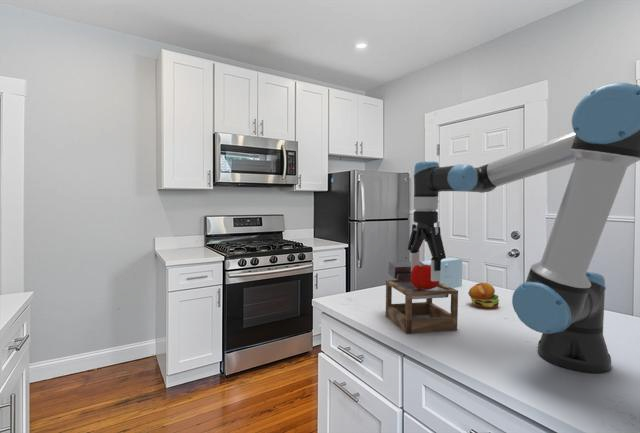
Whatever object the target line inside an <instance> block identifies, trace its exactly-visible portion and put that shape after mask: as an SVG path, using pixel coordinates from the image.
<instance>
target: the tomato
mask: <svg viewBox="0 0 640 433" xmlns="http://www.w3.org/2000/svg"><path fill="white" fill-rule="evenodd" d="M411 282H412V285H413V286H415V287H417V288H419V289H422V288H423V289H426V290H429V289H432V288H435V287H437V286H438V285H439V282H440V281H431V265H427V264H426V265H423V266H422V267H420V266H419V265H416V266H414V268H413V269H412V271H411Z"/></svg>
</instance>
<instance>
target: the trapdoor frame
mask: <svg viewBox="0 0 640 433" xmlns="http://www.w3.org/2000/svg"><path fill="white" fill-rule="evenodd" d="M395 282H411V281H397V280H396V279H393V280H391V279H390V280H388V279H387V280H386V281H385V317H387V318H388V319H389V320H390V321H392V322H393V324H395V325H396V326H397V327H398V328H399V329H401V331H403V332H404V333H406V334H410V335H411V334H422V333H423V334H424V333H433V332H434V333H435V332H436V333H437V332H446V331H448V332H449V331H458V322H459V321H458V316H459V315H458V314H459V312H458V311H459V310H458V309H459V308H458V306H459V290H458V289H455V288H451V287H449V286H446V285H444V284H442V283H439V285H438V286H437V287H440V288H442V289H444V290H434V291H414V292H410V291H408V290H406V289H404V288H403V287H401V286H399V285H397V284H396V283H395ZM392 289H394V290H396V291H398V292H400V293H402V294H403V295H404V297H405V302H400V303H392V301H393V299H392V298H393V297H392V293H393V292H392V291H393V290H392ZM444 294H449V295H450V312H449V311H447V310H445V309H444V308H442V307H441V306H438V305H437V304H435V303H433V298H428V299H425V301H423V302H422V301H421V302H413V299H412V296H426V295H444ZM422 315H428V316H429V317H418V318H417V317H416V318H413V316H422Z"/></svg>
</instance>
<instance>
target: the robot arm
mask: <svg viewBox="0 0 640 433" xmlns="http://www.w3.org/2000/svg"><path fill="white" fill-rule="evenodd" d="M571 128H572V130H573V131H571V132H569V133H566V134H563V135H561V136H557V137H556V138H553V139H550V140H547V141H545V142H542V143H539V144H537V145H534V146H531V147H528V148H525V149H524V150H520V151H518V152H516V153H514V154H511V155H507V156H505V157H501V158H500V159H497V160H495V161H491V162H490V163H487V164H484V165H482V166H479V167H474V166H473V165H471V164H456V165H447V166H440V164H439V162H438V161H432V160H431V161H428V160H427V161H419V162H417V163H416V164H415V165H414V171H413V172H414V173H413V209H414V210H415V211H413V222H414V224H413V223H412V226H411V233H410V236H409V242H408V246H407V250H408V251H409V252H410V262H411V271H412V269H413V268H414V266H416V265H419V261H420V252H421V251H420V248H421V247H422V244H423V242H424V241H425V242H426V243H427V246H428V249H429V251H430V255H431V259H430V260H431V281H440V270H441V260H442V259H445V258H447V257H446V252H445V248H444V243H443V239H442V235H441V227H440V226H435V224H437V223H438V222H439V212H438V211H437V210H439V203H440V202H439V192H458V193H459V192H464V193H465V192H467V193H468V192H469V193H470V192H471V193H481V194H483V193H490V192H492V191H494V190H495V189H496V188H497V187H500V186H504V185H507V184H510V183H513V182H517V181H520V180H523V179H525V178H530V177H532V176H536V175H539V174H542V173H545V172H548V171H551V170H555V169H559V168H561V167H565V166H567V165H571V164H574V165H573V167H572V170H571V173H570V175H569V179H568V182H567V186H566V188H565V191H564V194H563V196H562V199H561V202H560V205H559V208H558V210H557V214H556V217H555V220H554V222H553V226H552V229H551V231H550V234H549V236H548V240H547V243H546V245H545V248H544V252H543V254H542V256H541V260H540V261H538V262H536V263H533V264H531V265H530V268H529V272H528V275H527V276H526V280H525V282H523V283H520V284H519V286H518V287H516V289H515V290H514V291H513V293H512V299H511V303H512V308H513V310H514V312H515V313H516V315H517V318H518V319H519V320H520V322H521V323H523V325H525V327H528V328H529V329H531V330H532V331H535V332H537V333H541V337H540V339H539V340H538V343H537V353H538V355H539V356H540V357H542V358H543V359H544V360H545V361H548V362H549V363H552V364H554V365H556V366H559V367H561V368H565V369H568V370H572V371H577V372H583V373H589V374H590V373H591V374H592V373H593V374H597V373H598V374H602V373H607V372H608V371H611V369H612V357H611V355H610V353H609V349H608V346H607V344H606V340H605V337H604V320H605V319H604V318H605V316H604V315H605V314H604V313H605V296H606V290H607V287H606V284H605V283H606V282H605V281H606V279H605V277H604V275H602V274H600V273H597V272H594V271H593V272H592V271H588V270H589V269H590V268H589V267H590V265H591V262H592V260H593V257H594V254H595V252H596V250H597V246H598V244H599V241H600V238H601V236H602V234H603V231H604V228H605V226H606V223H607V220H608V218H609V216H610V213H611V211H612V208H613V205H614V202H615V200H616V197H617V196H618V193H619V189H620V188H621V185H622V182H623V180H624V177H625V174H626V172H627V170H628V168H629V167H630V166H631V165H633V164H635V163H637V162H639V161H640V85H639V84H632V83H628V82H614V83H609V84H604V85H602V86H599V87H597V88H595V89H594V90H592V91H591V92H589V93H587V94H586V95H585V96H584V97H582V99H581V100H580V101H579V102H578V103H577V105H576V106H575V107H574V111H573V112H572V116H571Z"/></svg>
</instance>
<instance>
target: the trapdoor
mask: <svg viewBox="0 0 640 433" xmlns="http://www.w3.org/2000/svg"><path fill="white" fill-rule="evenodd" d="M421 262H422V261H420V260H419V266H420V267H422V266H423V265H425V264H423V263H421ZM388 275H389V276H391V278H393V280H397V281H411V261H396V262H395V261H391V262H388ZM395 283H396V284H397V285H399V286H401V287H403V288H404V289H406V290H408V291H410V292H414V291H434V290H442V289H440V288H439V287H435V288H432V289H429V290H426V289H423V288H422V289H419V288H417V287H415V286H413V285H412V282H395ZM449 295H450V294H444V295H426V296H412V300H423V299H425V300H426V299H428V298H432V299H439V298H443V299H444V298H445V299H446V298H449Z"/></svg>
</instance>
